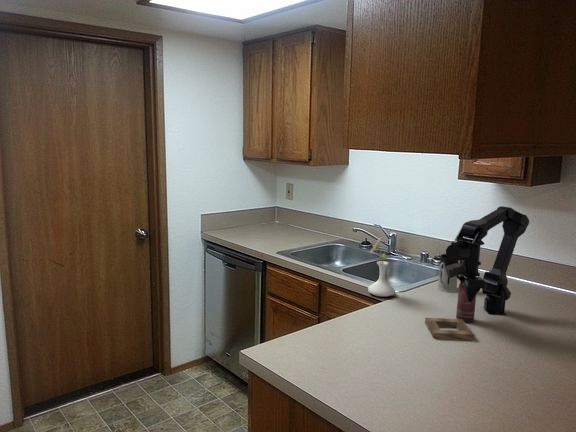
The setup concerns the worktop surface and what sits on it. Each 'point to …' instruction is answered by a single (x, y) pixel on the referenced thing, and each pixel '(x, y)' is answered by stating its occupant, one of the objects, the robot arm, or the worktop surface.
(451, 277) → the robot arm
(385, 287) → the flower in vase
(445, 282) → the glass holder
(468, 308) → the can
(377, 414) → the worktop surface
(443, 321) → the socket block
